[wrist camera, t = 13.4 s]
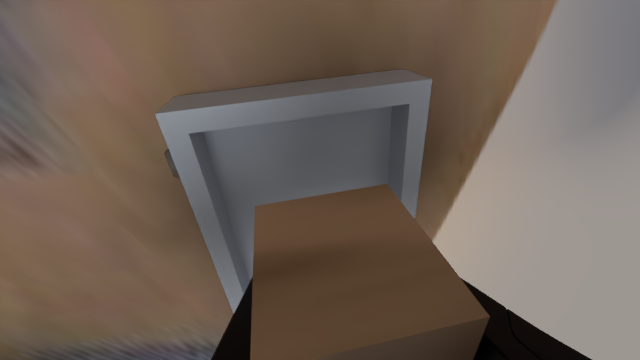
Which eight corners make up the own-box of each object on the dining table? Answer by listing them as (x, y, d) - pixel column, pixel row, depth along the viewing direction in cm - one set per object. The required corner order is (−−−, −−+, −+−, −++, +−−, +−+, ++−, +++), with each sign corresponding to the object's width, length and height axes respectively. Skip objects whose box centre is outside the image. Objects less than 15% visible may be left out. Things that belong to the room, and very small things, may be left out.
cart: (397, 298, 26) (412, 329, 23) (243, 332, 24) (241, 369, 21) (420, 66, 15) (452, 76, 13) (153, 98, 14) (128, 117, 11)
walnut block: (382, 273, 12) (451, 416, 8) (276, 295, 11) (286, 462, 7) (387, 183, 10) (489, 316, 5) (254, 206, 9) (249, 373, 5)
